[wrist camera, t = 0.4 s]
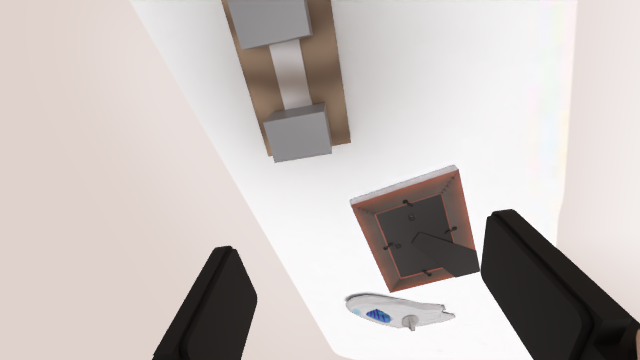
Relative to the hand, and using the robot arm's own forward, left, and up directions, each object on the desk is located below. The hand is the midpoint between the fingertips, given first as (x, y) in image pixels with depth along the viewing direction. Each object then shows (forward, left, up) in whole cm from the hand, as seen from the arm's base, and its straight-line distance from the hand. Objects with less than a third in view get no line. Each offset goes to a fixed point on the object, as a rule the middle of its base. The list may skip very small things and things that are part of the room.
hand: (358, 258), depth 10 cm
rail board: (-5, -5, -29) cm, 30 cm away
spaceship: (+43, +6, -29) cm, 52 cm away
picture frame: (+24, +10, -30) cm, 40 cm away
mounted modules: (-5, -5, -26) cm, 27 cm away
